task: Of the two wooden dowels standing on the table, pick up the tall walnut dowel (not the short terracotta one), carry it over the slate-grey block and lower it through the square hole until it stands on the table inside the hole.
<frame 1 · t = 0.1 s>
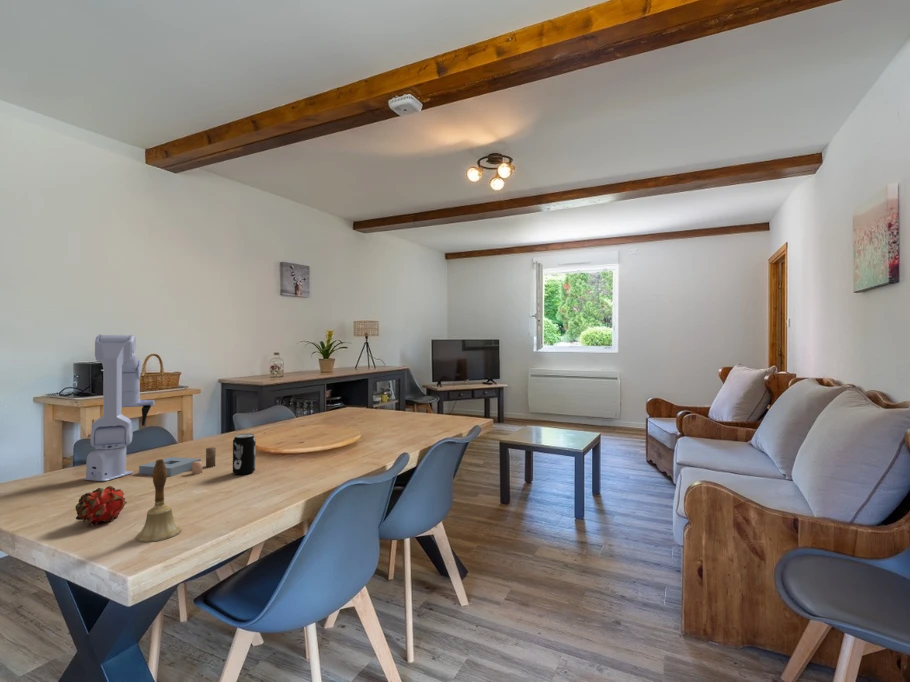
hand: (131, 425, 168), 11 cm above the table, tool pointing down, fingers open, 7 cm apart
hole block: (170, 470, 147), on the table
hand bell: (159, 535, 98), on the table
long pin: (210, 466, 152), on the table
dragon fruit: (102, 521, 105), on the table
short pin: (197, 473, 144), on the table
beverage can: (244, 473, 145), on the table
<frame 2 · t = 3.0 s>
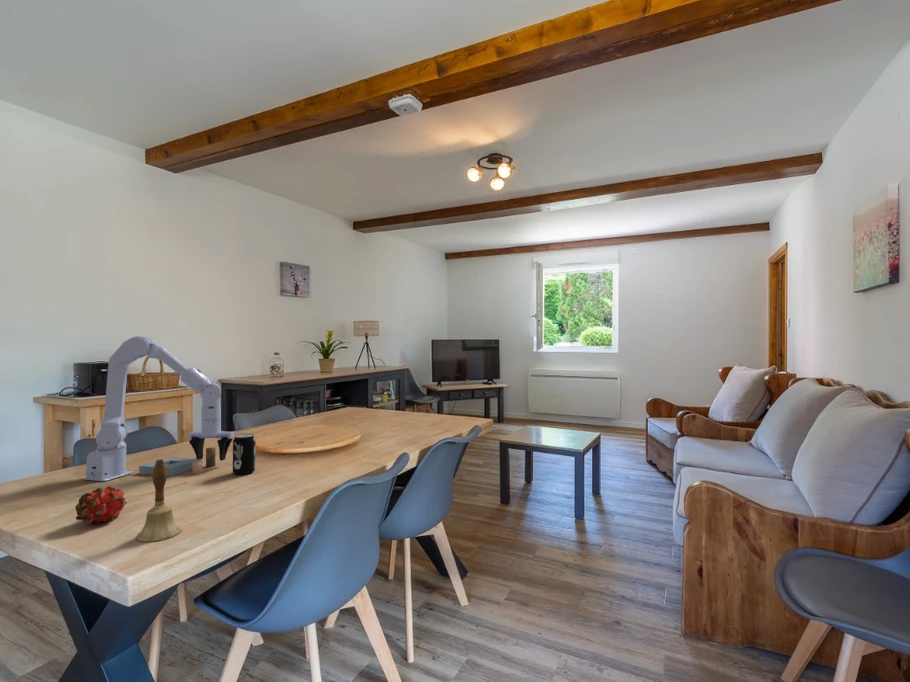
hand: (211, 459, 152), 2 cm above the table, tool pointing down, fingers open, 7 cm apart
nothing on the table moved.
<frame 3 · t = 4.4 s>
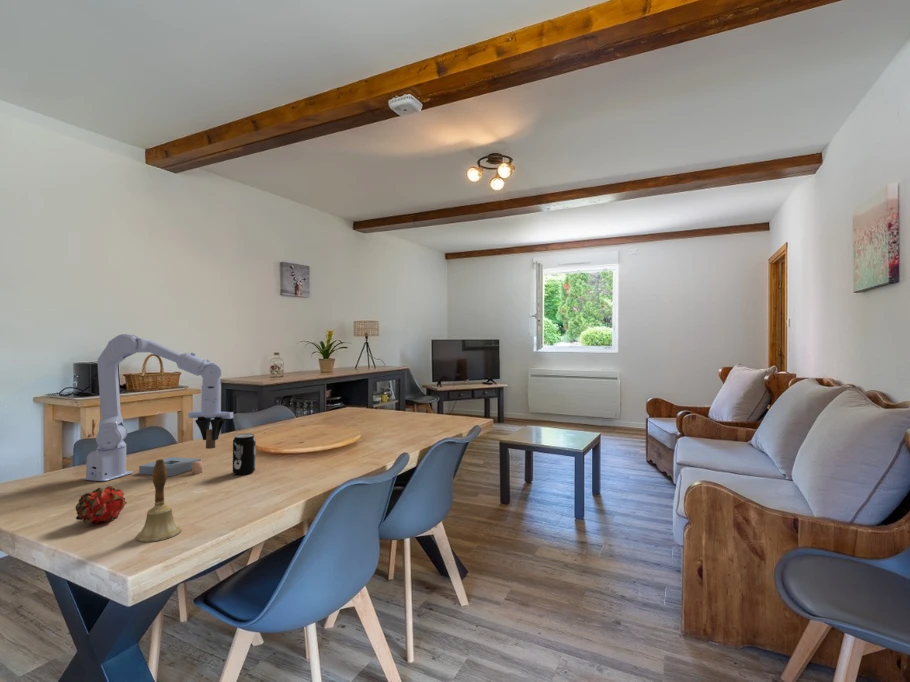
hand: (210, 439, 152), 9 cm above the table, tool pointing down, fingers closed on long pin, 3 cm apart
long pin: (210, 447, 152), point 6 cm above the table, touching gripper
everything else where it was.
when the fingers open (3 cm above the table, at t = 6.6 s): long pin stays where it is, resting in hole block.
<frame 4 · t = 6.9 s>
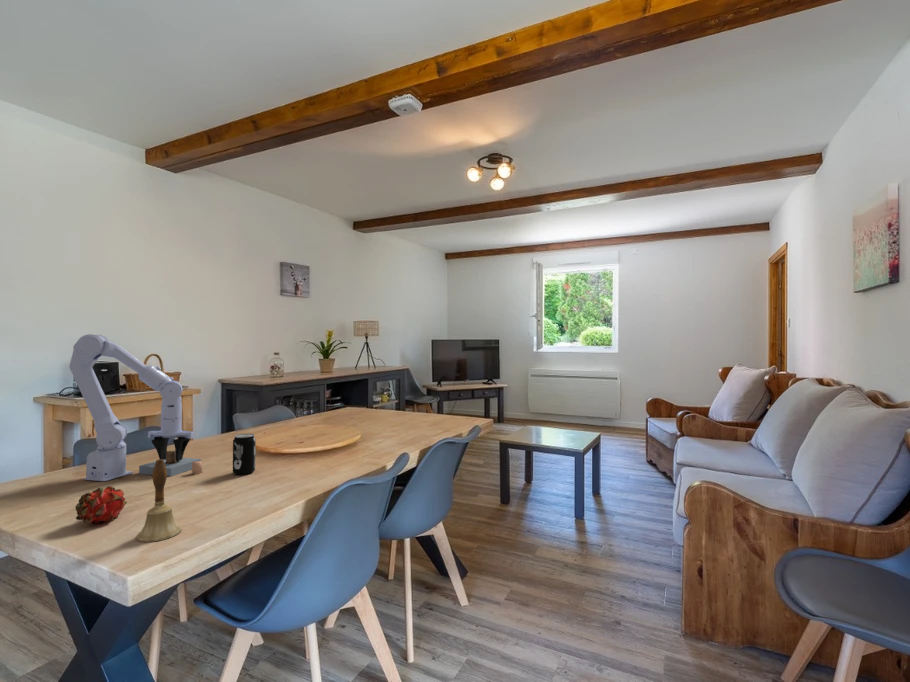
hand: (171, 460, 147), 3 cm above the table, tool pointing down, fingers open, 5 cm apart
long pin: (170, 470, 147), resting in hole block
everything else where it was.
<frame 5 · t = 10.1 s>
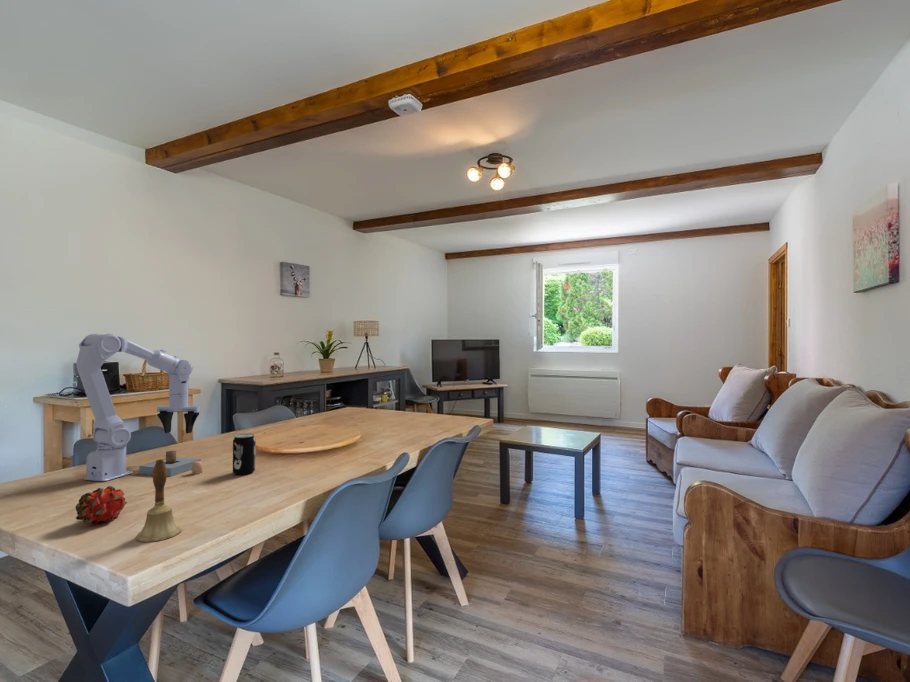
hand: (178, 432, 159), 10 cm above the table, tool pointing down, fingers open, 7 cm apart
nothing on the table moved.
at the end: long pin 0.0 cm off-centre on the hole block, point 0.0 cm above the hole block's base; long pin tilted 0°; short pin moved 0.0 cm from its start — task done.
